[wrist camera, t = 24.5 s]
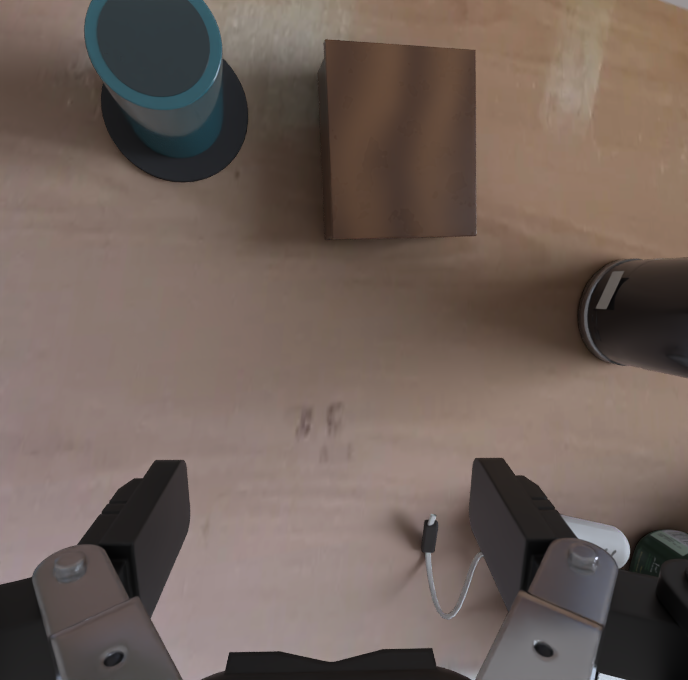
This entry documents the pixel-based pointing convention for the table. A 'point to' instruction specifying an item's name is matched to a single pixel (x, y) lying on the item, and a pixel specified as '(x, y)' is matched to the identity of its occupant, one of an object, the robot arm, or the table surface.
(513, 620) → the robot arm
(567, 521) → the clip-on lamp
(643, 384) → the table surface
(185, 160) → the coaster
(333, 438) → the table surface
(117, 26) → the tumbler
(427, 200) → the riser
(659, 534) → the coffee jar
